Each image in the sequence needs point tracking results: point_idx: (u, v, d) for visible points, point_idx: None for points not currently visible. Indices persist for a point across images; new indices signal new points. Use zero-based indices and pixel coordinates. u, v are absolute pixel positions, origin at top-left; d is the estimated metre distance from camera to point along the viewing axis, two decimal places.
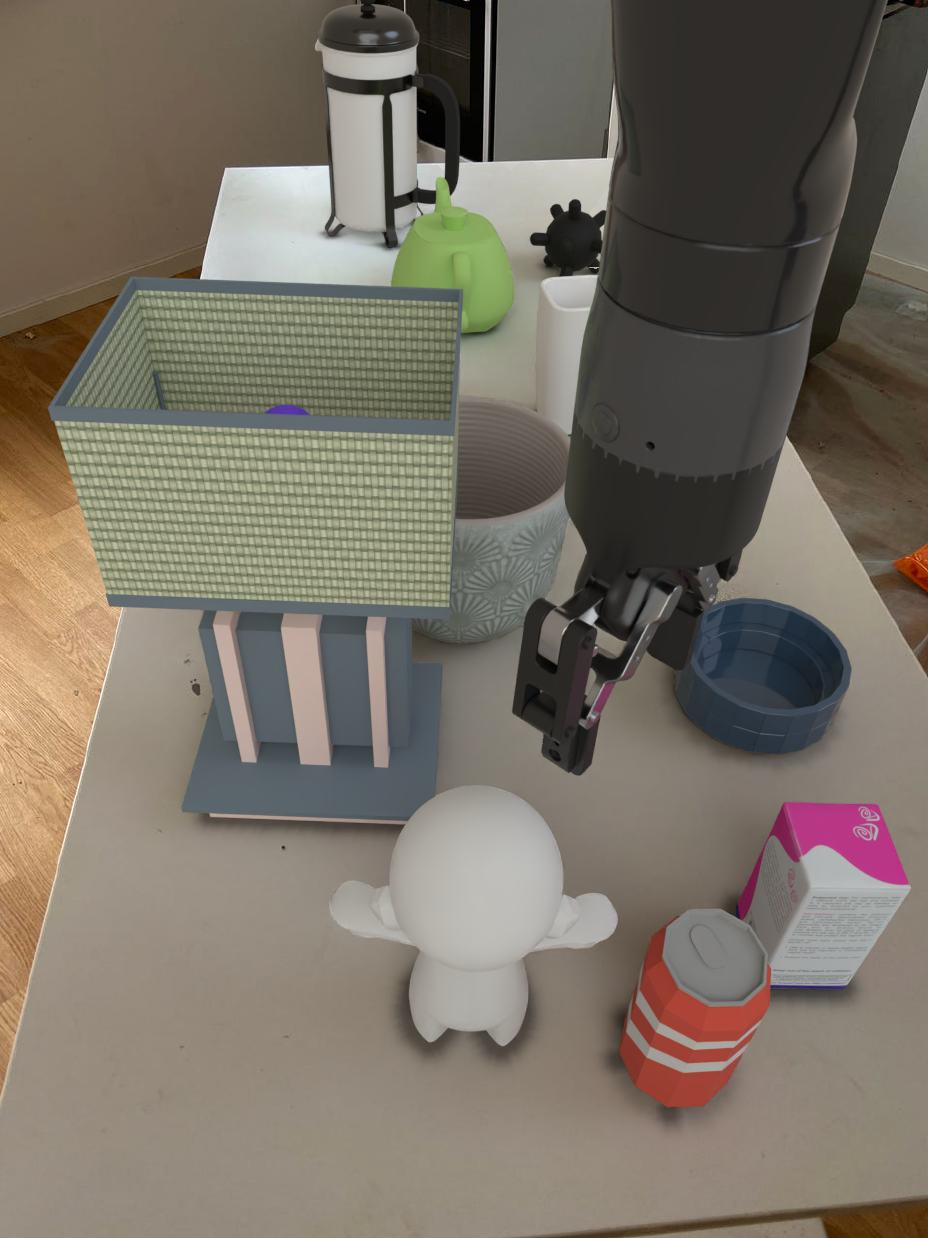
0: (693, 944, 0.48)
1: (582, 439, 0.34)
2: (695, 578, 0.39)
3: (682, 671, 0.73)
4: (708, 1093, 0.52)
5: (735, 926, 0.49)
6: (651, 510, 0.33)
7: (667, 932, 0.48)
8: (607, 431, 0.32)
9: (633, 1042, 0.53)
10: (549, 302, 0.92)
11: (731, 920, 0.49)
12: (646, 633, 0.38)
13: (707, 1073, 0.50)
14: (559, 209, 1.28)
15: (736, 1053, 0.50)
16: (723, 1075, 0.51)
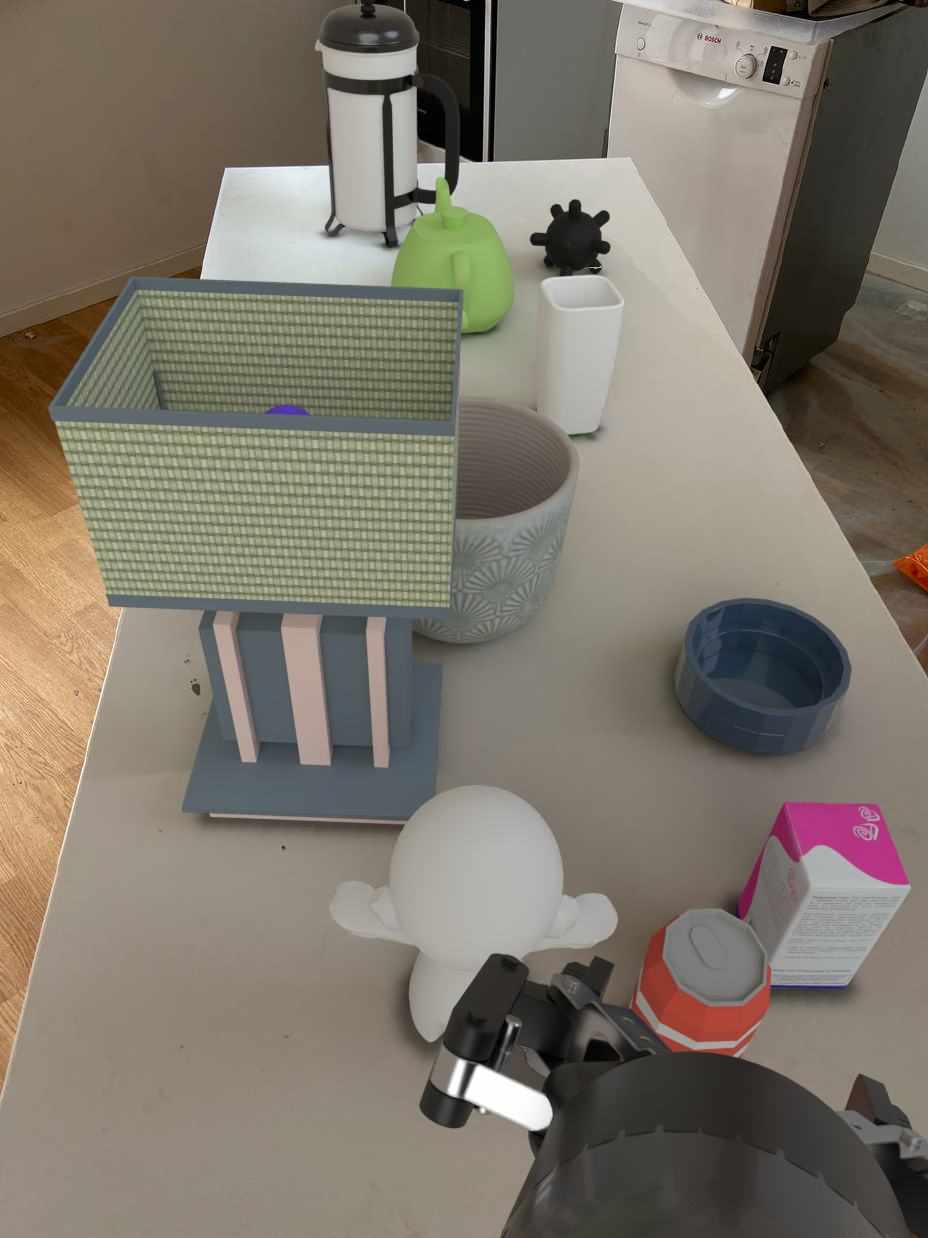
0: (693, 944, 0.48)
1: None
2: None
3: (682, 671, 0.73)
4: None
5: (735, 926, 0.49)
6: None
7: (667, 932, 0.48)
8: None
9: None
10: (549, 302, 0.92)
11: (731, 920, 0.49)
12: None
13: None
14: (559, 209, 1.28)
15: (736, 1053, 0.50)
16: None
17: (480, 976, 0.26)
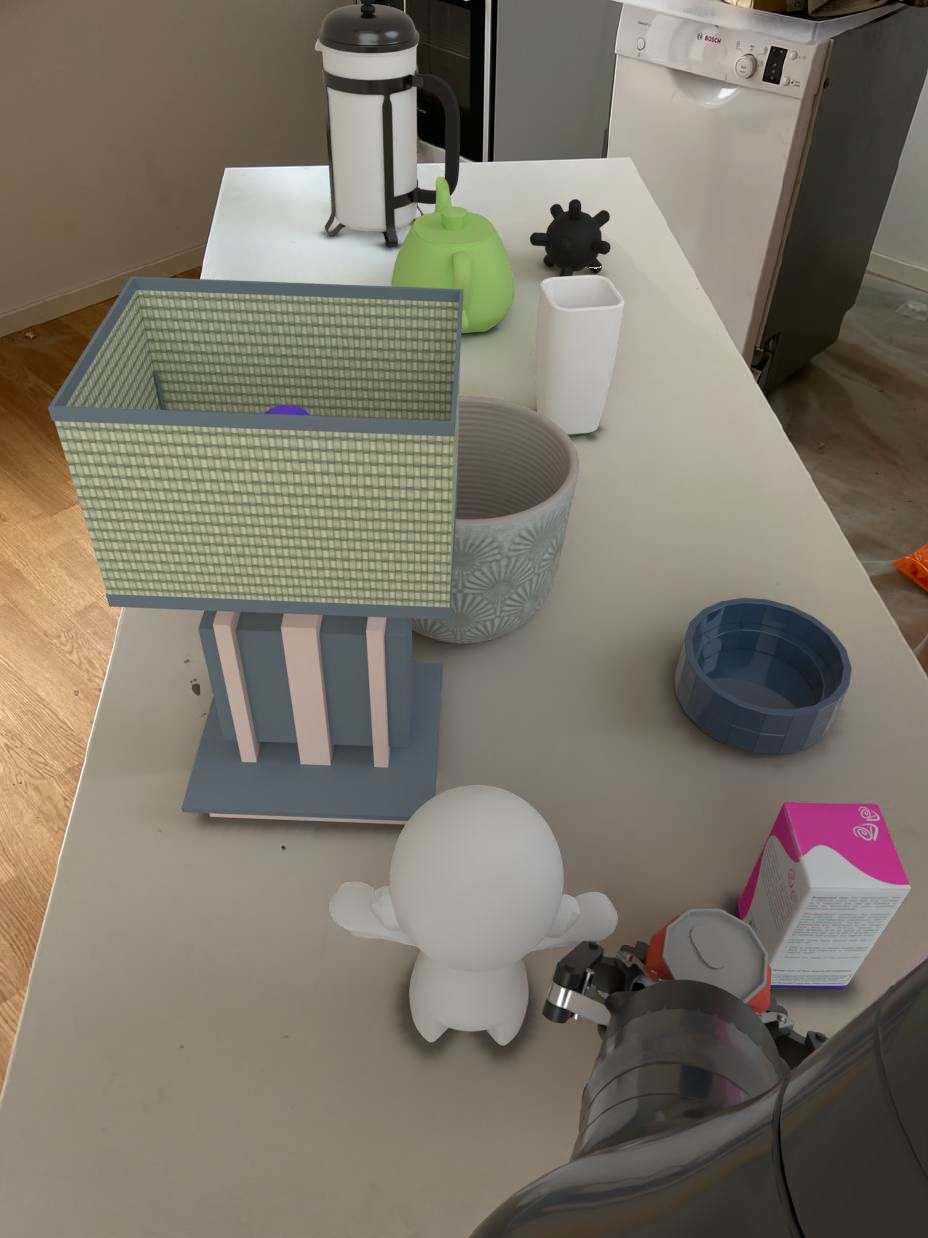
0: (693, 944, 0.48)
1: None
2: None
3: (682, 671, 0.73)
4: None
5: (735, 926, 0.49)
6: None
7: (667, 932, 0.48)
8: None
9: None
10: (549, 302, 0.92)
11: (731, 920, 0.49)
12: None
13: None
14: (559, 209, 1.28)
15: None
16: None
17: (574, 950, 0.48)
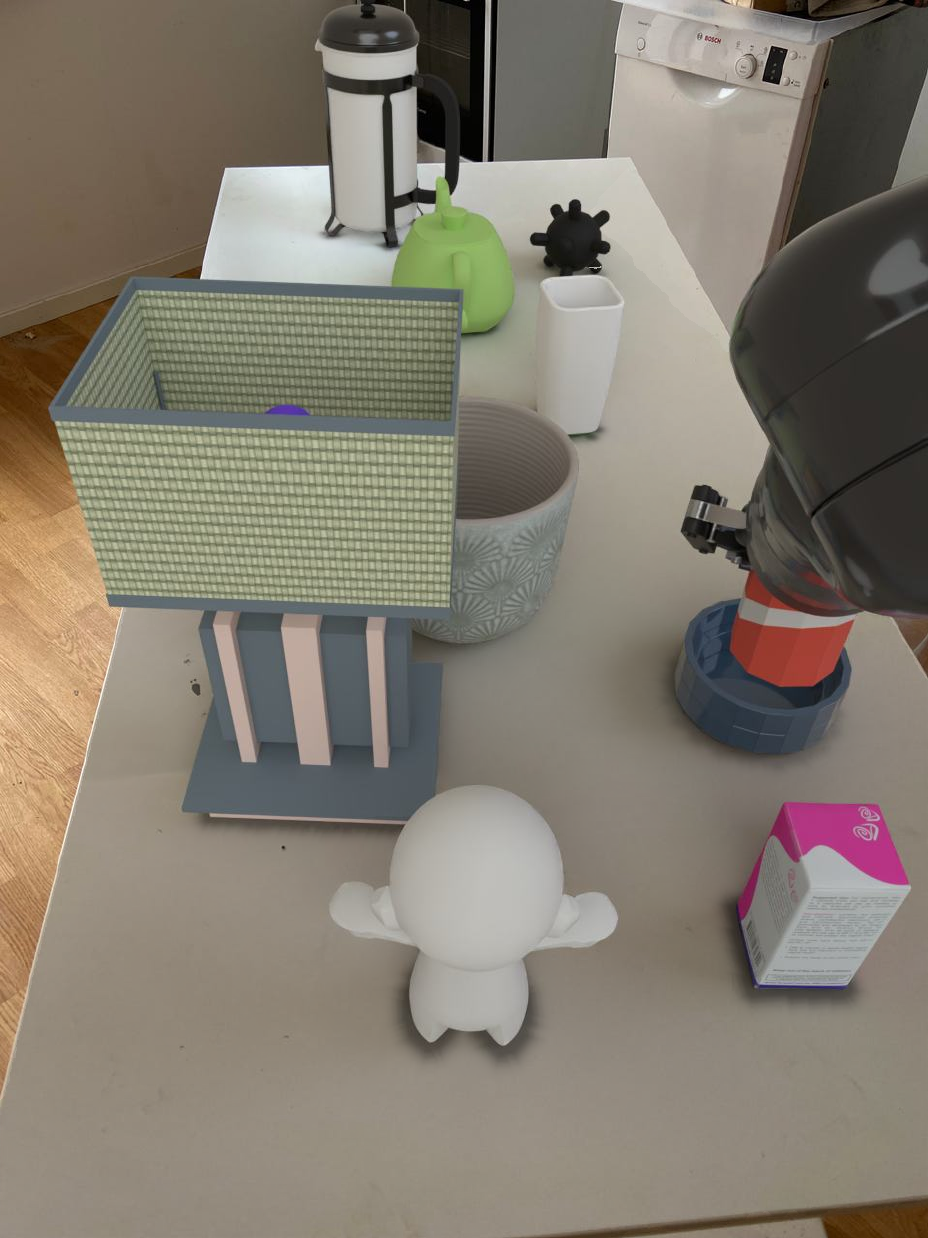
0: None
1: None
2: None
3: (682, 671, 0.73)
4: (820, 664, 0.56)
5: None
6: None
7: None
8: None
9: (748, 621, 0.56)
10: (549, 302, 0.92)
11: None
12: None
13: (822, 629, 0.54)
14: (559, 209, 1.28)
15: None
16: (835, 641, 0.55)
17: None
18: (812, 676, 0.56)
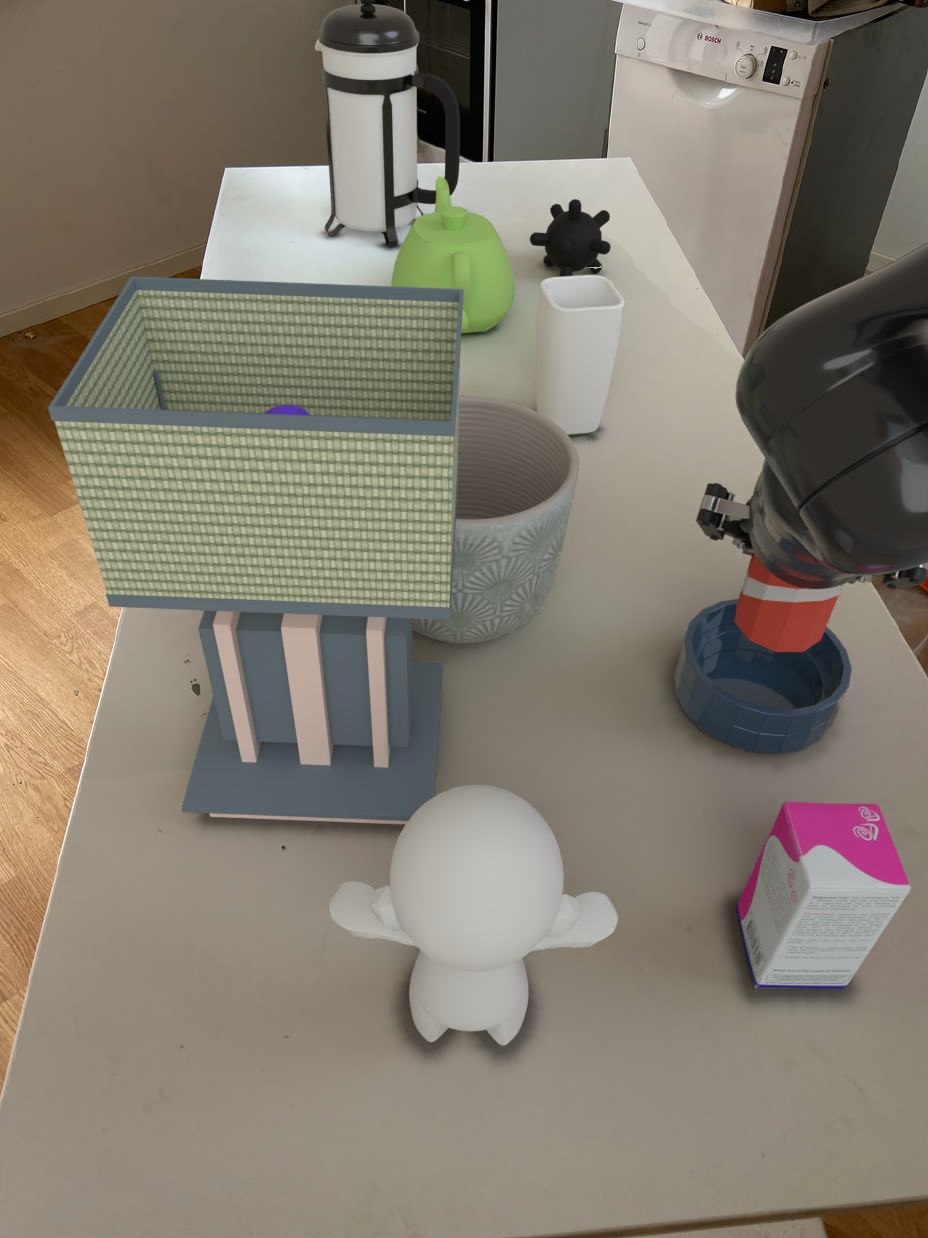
0: None
1: None
2: None
3: (682, 671, 0.73)
4: (809, 633, 0.67)
5: None
6: None
7: None
8: None
9: (750, 596, 0.68)
10: (549, 302, 0.92)
11: None
12: None
13: (811, 603, 0.65)
14: (559, 209, 1.28)
15: None
16: (822, 614, 0.66)
17: None
18: (803, 643, 0.68)
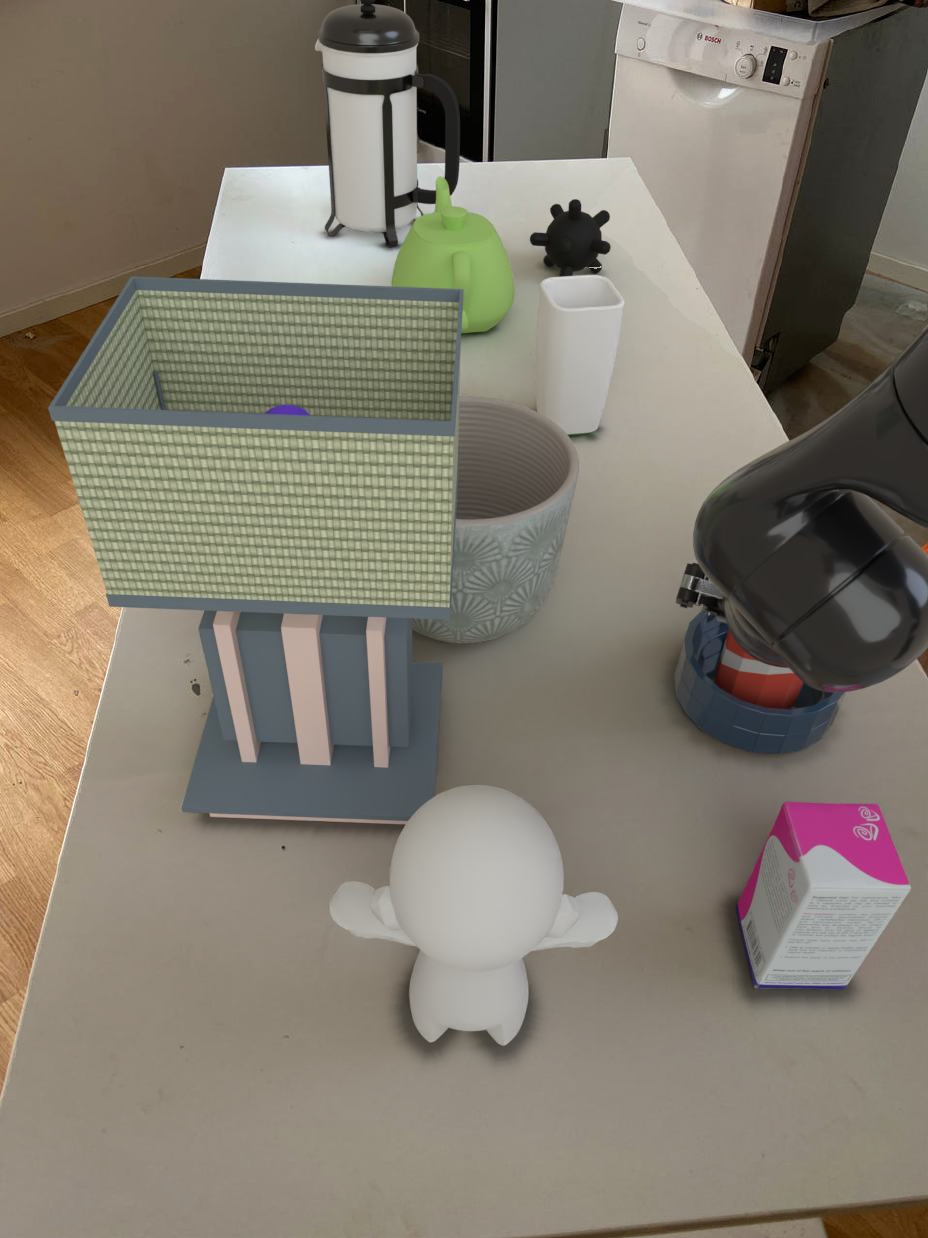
0: None
1: None
2: None
3: (682, 671, 0.73)
4: (783, 700, 0.72)
5: None
6: None
7: None
8: None
9: (728, 666, 0.72)
10: (549, 302, 0.92)
11: None
12: None
13: (784, 675, 0.70)
14: (559, 209, 1.28)
15: None
16: (794, 684, 0.71)
17: None
18: None
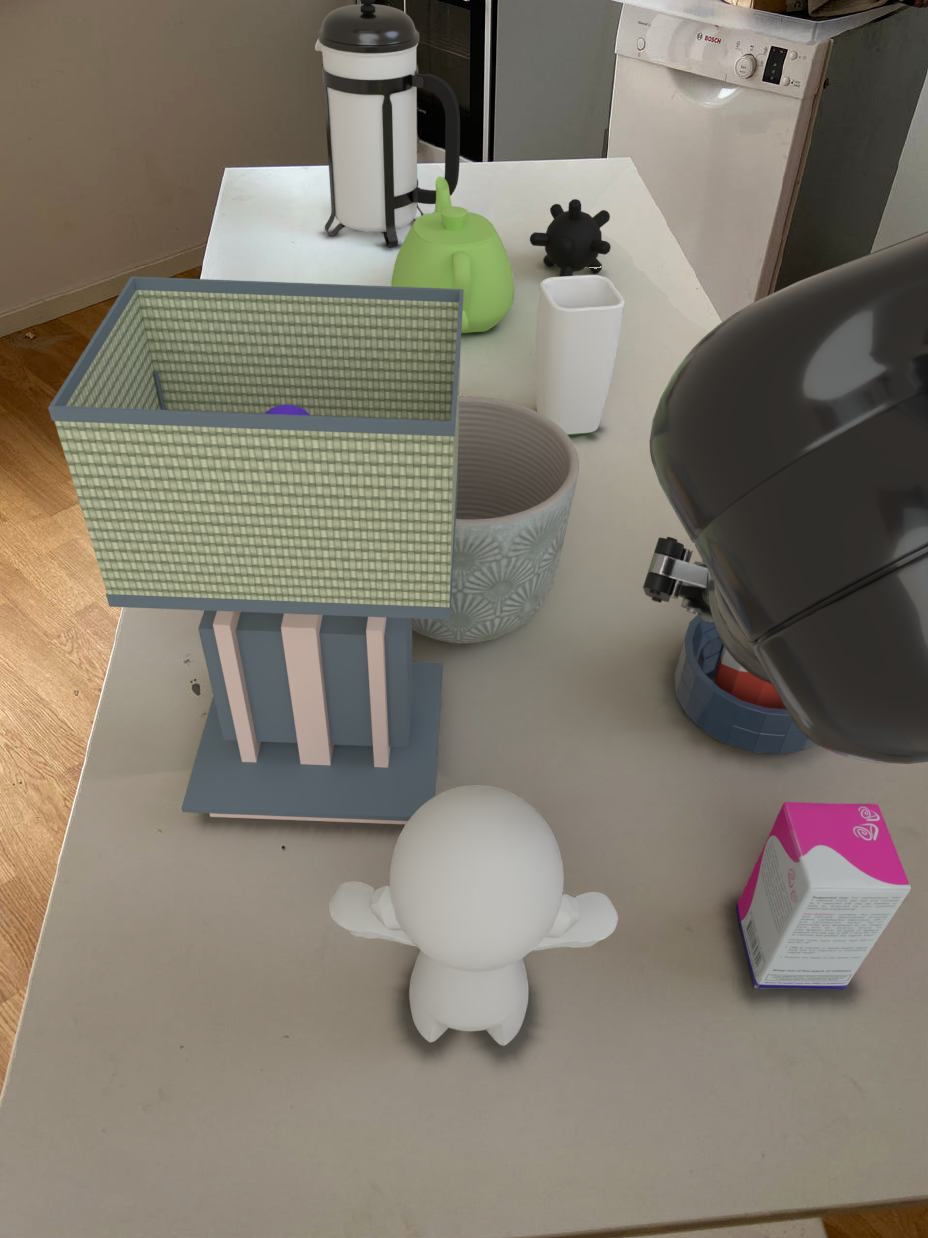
0: None
1: None
2: None
3: (682, 671, 0.73)
4: None
5: None
6: None
7: None
8: None
9: (728, 666, 0.72)
10: (549, 302, 0.92)
11: None
12: None
13: None
14: (559, 209, 1.28)
15: None
16: None
17: None
18: None
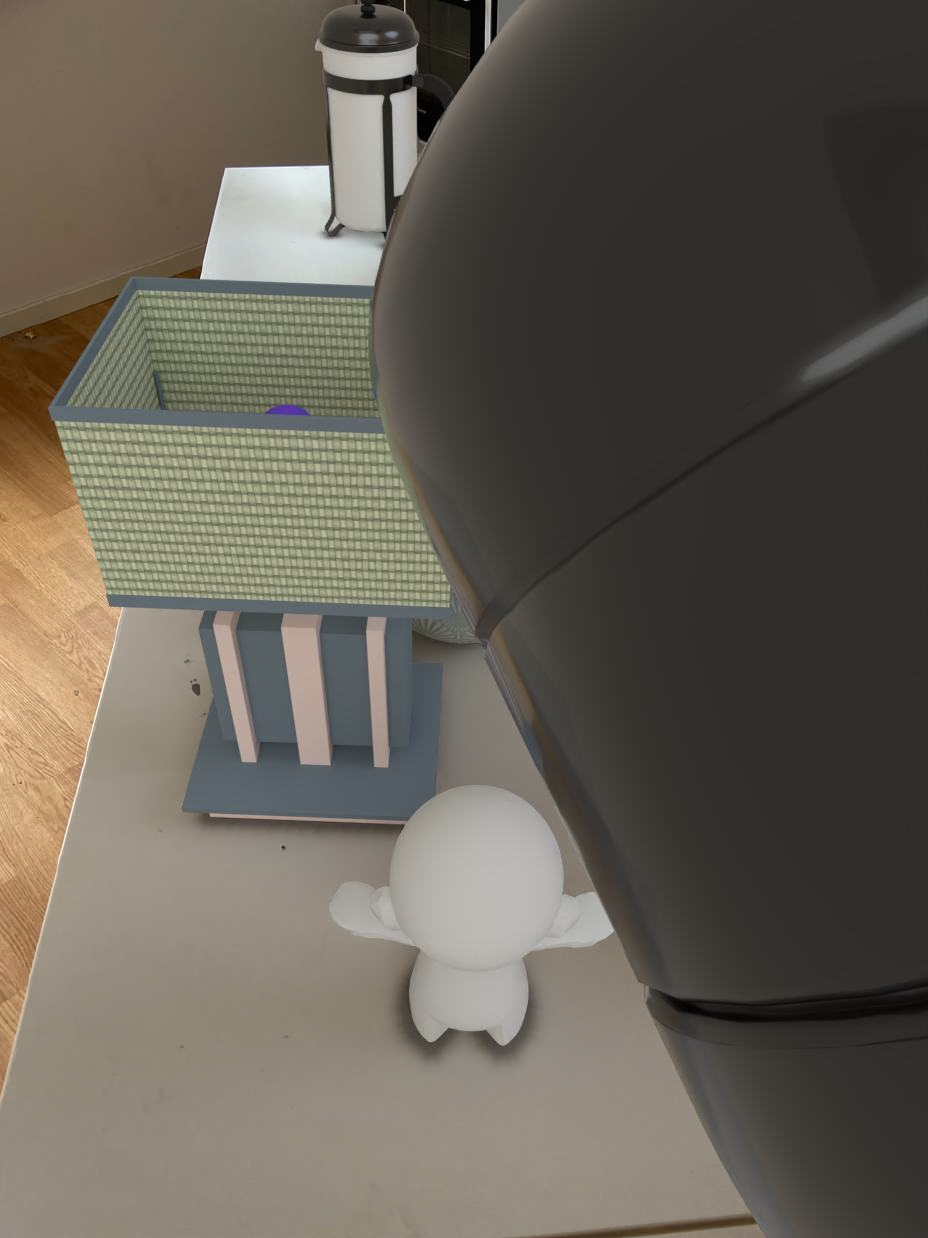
0: None
1: None
2: None
3: None
4: None
5: None
6: None
7: None
8: None
9: None
10: None
11: None
12: None
13: None
14: None
15: None
16: None
17: None
18: None
